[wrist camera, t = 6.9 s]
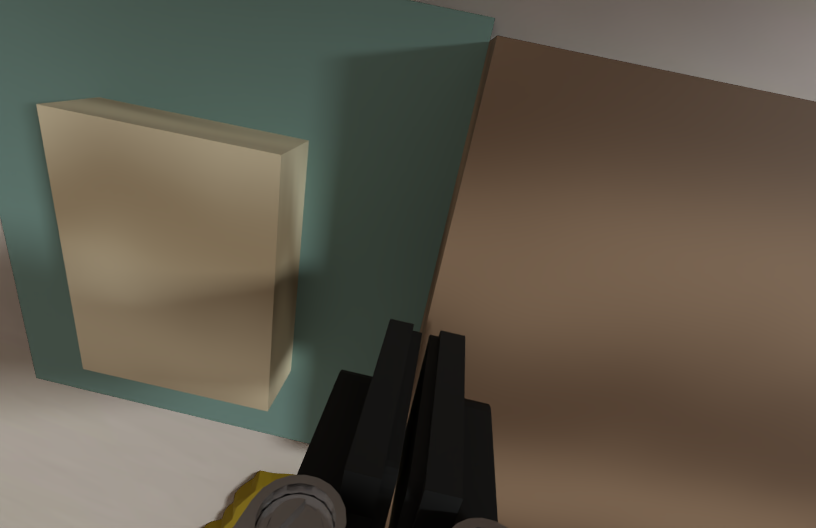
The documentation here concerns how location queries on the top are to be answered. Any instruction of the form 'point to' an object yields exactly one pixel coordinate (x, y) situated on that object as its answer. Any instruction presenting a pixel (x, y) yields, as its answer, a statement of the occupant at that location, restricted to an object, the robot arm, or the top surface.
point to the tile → (178, 245)
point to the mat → (271, 112)
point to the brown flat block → (635, 293)
